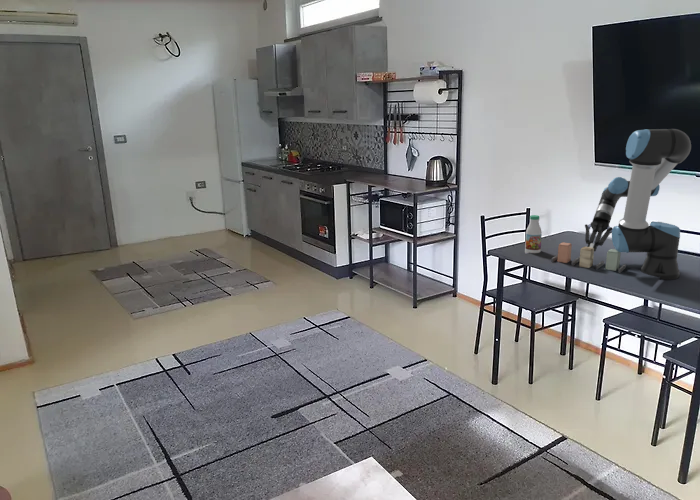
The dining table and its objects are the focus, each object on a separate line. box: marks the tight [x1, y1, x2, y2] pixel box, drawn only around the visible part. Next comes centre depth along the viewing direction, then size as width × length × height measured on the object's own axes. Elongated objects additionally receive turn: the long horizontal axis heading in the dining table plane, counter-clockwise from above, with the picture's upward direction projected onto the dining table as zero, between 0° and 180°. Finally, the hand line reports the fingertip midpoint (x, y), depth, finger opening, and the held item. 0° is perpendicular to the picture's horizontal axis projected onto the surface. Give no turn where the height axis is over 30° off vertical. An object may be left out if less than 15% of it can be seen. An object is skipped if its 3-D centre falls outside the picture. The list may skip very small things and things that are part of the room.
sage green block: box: [605, 248, 622, 272], centre depth 247 cm, size 5×4×9 cm
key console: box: [550, 254, 627, 274], centre depth 255 cm, size 10×31×3 cm, turn 49°
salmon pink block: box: [556, 241, 573, 264], centre depth 261 cm, size 5×4×9 cm
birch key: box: [578, 246, 595, 269], centre depth 252 cm, size 5×4×9 cm
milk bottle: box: [524, 214, 542, 255], centre depth 278 cm, size 8×8×20 cm
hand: (588, 256), depth 255 cm, fingers closed
